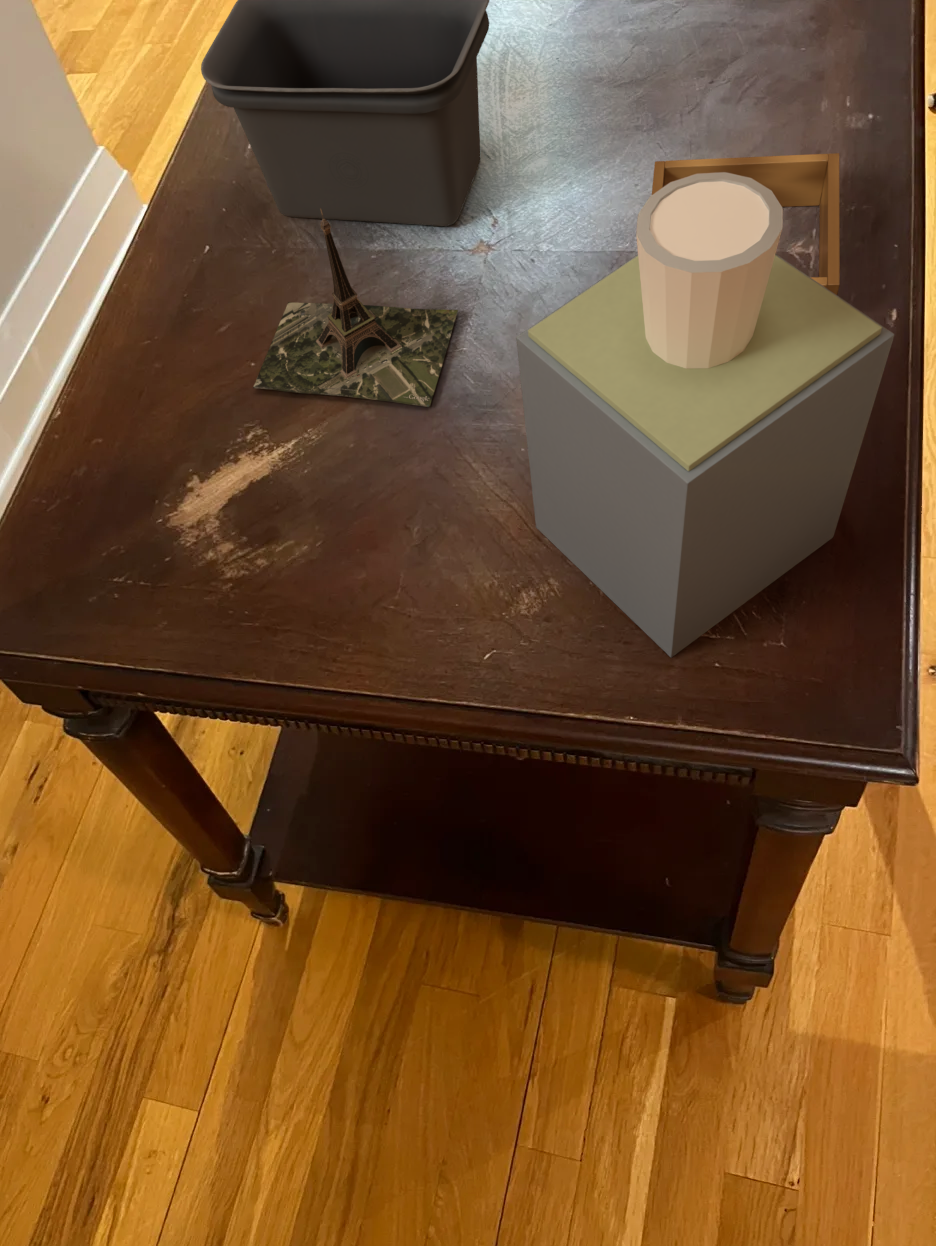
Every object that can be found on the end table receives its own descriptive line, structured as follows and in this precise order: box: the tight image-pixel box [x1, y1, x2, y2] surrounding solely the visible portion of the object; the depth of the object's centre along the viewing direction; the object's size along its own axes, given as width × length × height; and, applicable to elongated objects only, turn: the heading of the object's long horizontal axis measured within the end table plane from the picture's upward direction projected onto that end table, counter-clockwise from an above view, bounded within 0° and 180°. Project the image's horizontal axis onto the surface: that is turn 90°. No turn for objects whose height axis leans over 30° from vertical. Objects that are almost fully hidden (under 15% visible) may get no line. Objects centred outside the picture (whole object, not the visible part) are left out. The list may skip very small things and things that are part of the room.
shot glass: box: [635, 172, 784, 369], centre depth 55 cm, size 7×7×7 cm
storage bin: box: [200, 0, 490, 227], centre depth 90 cm, size 21×16×14 cm
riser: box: [515, 253, 895, 658], centre depth 67 cm, size 14×14×18 cm
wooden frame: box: [651, 152, 841, 296], centre depth 83 cm, size 14×14×4 cm
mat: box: [528, 254, 882, 471], centre depth 59 cm, size 13×13×1 cm
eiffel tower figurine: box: [252, 208, 459, 408], centre depth 82 cm, size 15×10×13 cm
